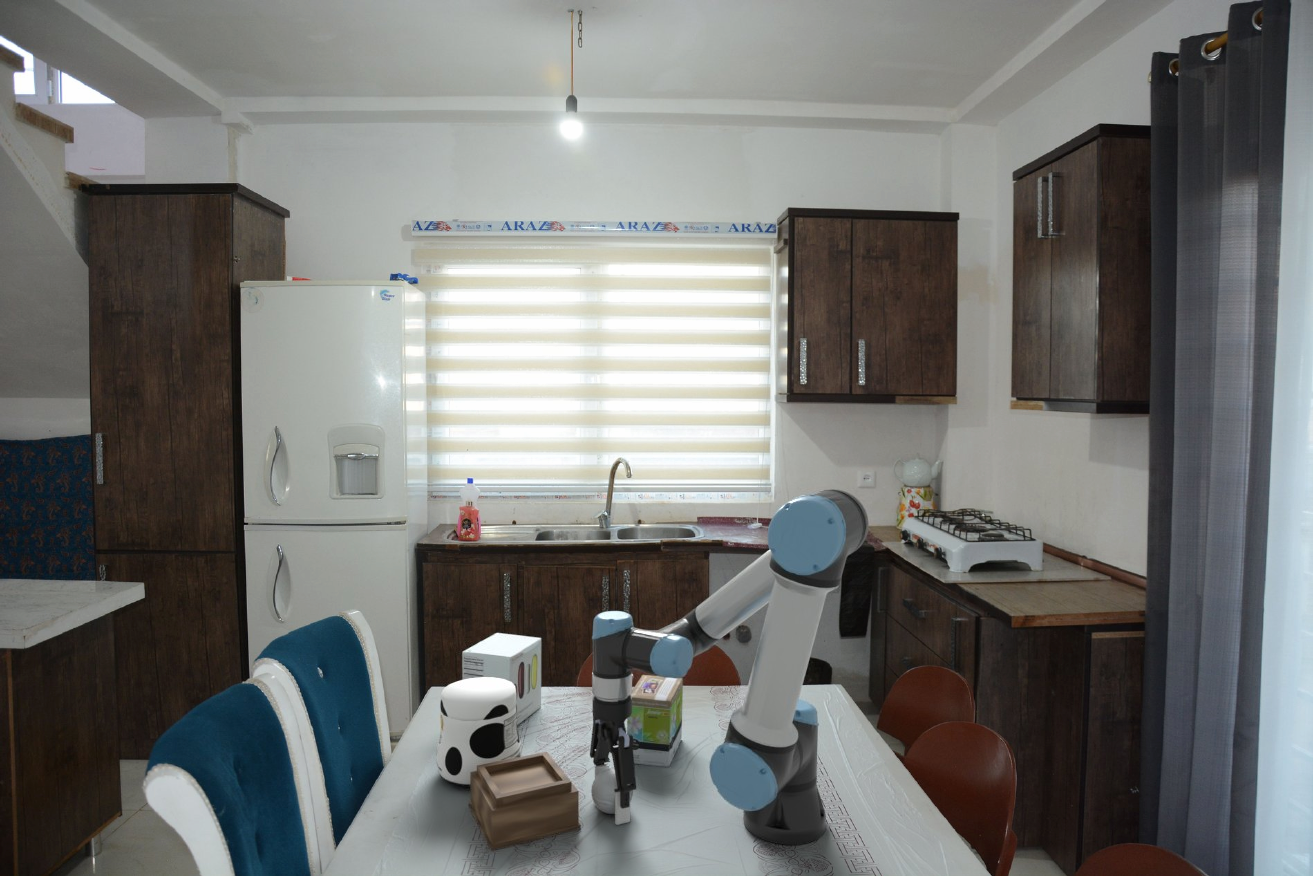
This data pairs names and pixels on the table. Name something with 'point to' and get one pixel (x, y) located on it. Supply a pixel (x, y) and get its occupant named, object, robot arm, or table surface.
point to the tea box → (656, 719)
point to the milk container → (476, 726)
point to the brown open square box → (523, 800)
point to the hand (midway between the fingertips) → (611, 810)
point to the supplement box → (509, 667)
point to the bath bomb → (605, 791)
